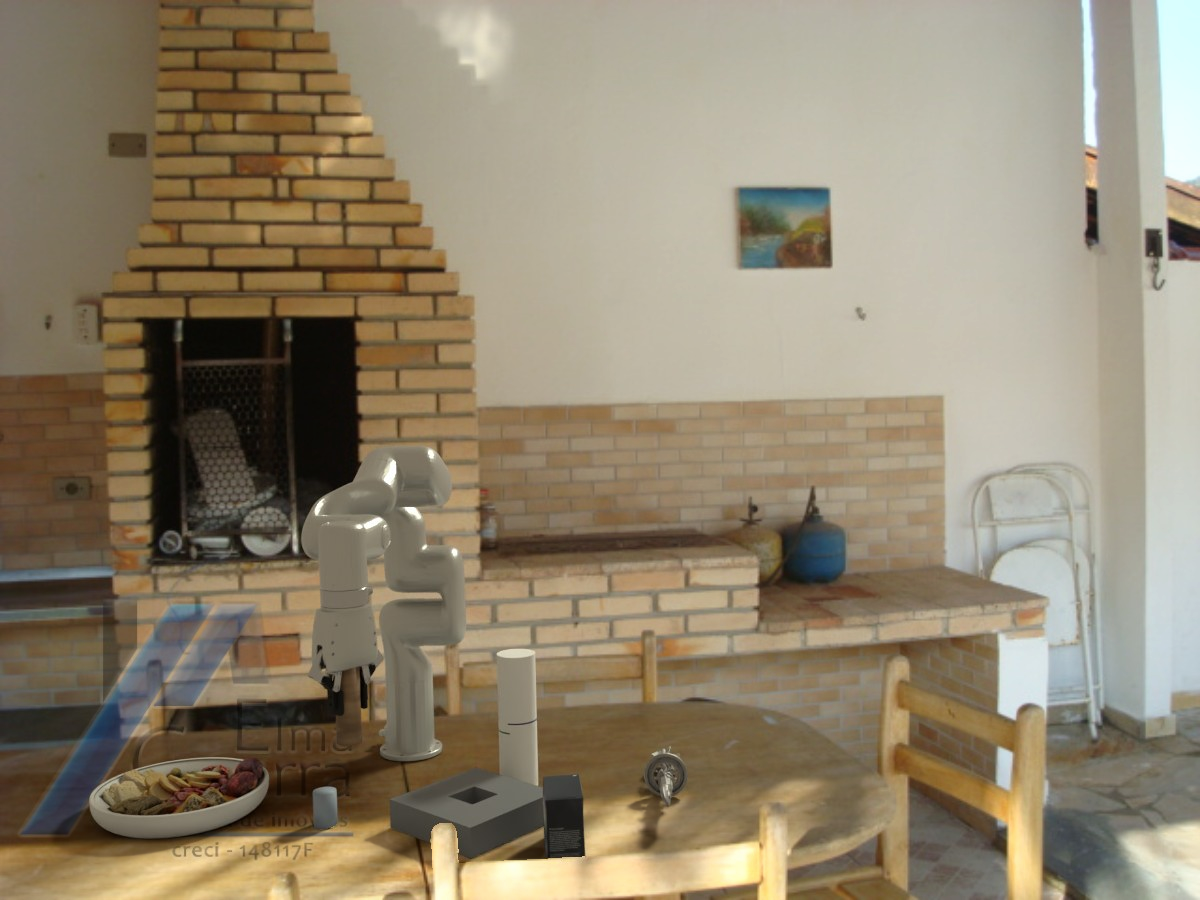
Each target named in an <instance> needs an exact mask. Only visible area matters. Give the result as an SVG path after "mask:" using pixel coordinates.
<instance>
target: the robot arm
mask: <svg viewBox="0 0 1200 900" xmlns="http://www.w3.org/2000/svg"><path fill="white" fill-rule="evenodd" d="M452 483H453V481H452V476H451V473H450V470H449V468H448V466H447V465H446V463H445V462H444V460H443V459H442V457H441V456H440V454H439V453H438V452H437V451H436V450H434V449H433V448H432V447H429V446H427V445H393V446H392V445H391V446H390V445H388V446H380V447H376V448H374V449H371V450H370V451H369V452H368V453H367V454H366V455H365V457H364V458H363V460H362V463H361V464H360V466H359V468H358V471H357V472H356V475H355V477H354V478H353V480H352V482H349V483H347V484H345V485H342V486H341V487H338V488H336V489H335V490H332V491H330V492H328V493H327V494H324V495H323V496H322V497H320V498H319V499H318V500H316V501H315V503H314V504H313V505H312V507H311V508H310V511H309V512H308V514H307V516H306V517H305V521H304V523H303V526H302V530H301V536H300V537H301V538H300V540H301V546H302V549H303V551H304V553H305V554H306V556H307V557H309V558H310V559H313V560H315V561H316V560H317V561H318V569H319V570H318V573H319V599H320V608H317V609H316V610H315V614H314V619H313V626H312V634H311V635H312V636H311V667H310V669H309V672H308V675H307V676H308V678H309V679H312V680H313V681H316V682H318V683H319V684H320V685H321V686H323V689H325V690H326V692H327V693H326V694H327V695H326V696H327V708H328V712H329V714H331V715H335V716H336V715H338V716H342V715H343V714H344V700H343V691H341V690H340V683H341V675H342V671H346V670H348V669H351V668H354V667H360V694H361V710H362V709H363V710H365V709H368V708H369V706H368V705H369V704H368V703H369V702H368V700H369V696H368V695H369V691H368V684H370V683H371V681H372V676H373V675H374V673H375V671H376V670H377V668H378V667H379V666H380V665H381V664H382V663H383V661H384V672H385V673H384V675H385V679H384V680H385V704H386V708H385V709H386V710H385V711H386V724H385V725H384V726H383V728H380V729H379V732H378V735H379V736H380V737H383V738H384V743H383V744H382V745H381V746H380V747H379V754H380V756H381V757H382V758H384V759H387V761H388V760H390V761H395V762H416V761H422V760H426V759H430V758H433V757H436V756H437V755H439V754H440V753H442V751H443V743H442V742H441V741H440V740H438V739H436V738H435V711H434V705H435V703H434V680H433V678H434V676H433V675H434V673H433V666H432V661H431V659H430V658H429V656H428V655H427V653H426V652H425V651H424V650H423V649H422V647H428V646H429V647H430V646H431V647H433V646H435V647H436V646H443V647H444V646H454V645H455V646H456V645H459V644H460V643H461V642H462V641H463V640H464V639H465V636H466V632H467V604H466V579H465V576H466V575H465V565H464V560H463V556H462V553H461V552H460V550H459V549H458V548H456V547H455V546H451V545H446V544H445V545H441V544H440V545H437V544H436V545H428V544H427V537H426V534H427V533H426V522H425V519H424V516H423V515H422V514H421V512H420V510H419V509H418V508H439V507H442V506H444V505H446V504H447V503H448V501H449V500H450V498H451V496H452V491H453V484H452ZM382 556H383V563H384V564H383V565H384V566H383V567H384V578H385V583H386V585H387V588H388V589H389V590H390V591H392V592H396V593H403V594H421V593H423V594H424V593H425V594H426V593H430V594H432V593H436V594H439V595H440V596H441V597H440V598H439V597H438V598H436V597H435V598H424V597H423V598H422V597H420V598H419V597H418V598H416V597H415V598H398V599H393V600H389V601H388V602H386V603H385V604H384V605H383V606H382V607H381V609H380V611H379V615H378V625H379V626H378V627H379V631H380V632H379V633H380V637H381V642H382V649H383V654H382V653H381V651H380V650H379V649H378V647H379V646H378V634H377V628H376V627H377V625H376V621H375V620H376V619H375V615H374V614H375V613H374V611H373V606H372V604H371V603H369V595H372V594H373V592H374V589H373V587H372V586H369V581H368V580H369V577H368V561H371V560H376V559H378V558H380V557H382ZM323 670H325V671H324V674H323V673H322V671H323Z"/></svg>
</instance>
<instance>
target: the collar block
mask: <svg viewBox="0 0 1200 900" xmlns="http://www.w3.org/2000/svg"><path fill="white" fill-rule="evenodd" d="M389 819H390V829H392V830H394V831H397V832H399V833H403V834H406V835H408V836H410V837H414V838H415V839H419V840H421V841H423V842H426V843H428V844H431V843H430V839H431V831H432V829H433V827H434V826H435V825H437V824H439V823H452V824H453V825H454V826H455V828H456V831H457V838H458V849H459V854H458V855H460V856H463V857H466V858H469V859H473V858H475V857H478V856H480V855H483V854H484V853H486V852H489V851H491V850H493V849H496V848H498V847H500V846H502V845H504V844H506V843H509V842H512V841H513V840H515V839H518V838H520V837H522V836H525V835H527V834H528V833H531V832H533V831H536V830H537V829H540V828H542V827H544V824H543V786H539V785H538V786H537V785H533V784H530V783H527V782H523V781H520V780H517V779H513V778H510V777H507V776H503V775H500V773H496V772H495V771H494V772H493V771H491V770H490V771H489V770H486V769H484V768H479V767H473V768H470V769H467V770H465V771H462V772H459V773H457V774H455V775H451V776H449V777H446V778H444V779H441V780H438V781H435V782H433V783H429V784H428V785H424V786H422V787H419V788H417V789H414V790H411V791H408V792H405V793H403V794H400V795H398V796H395V797H392V798H390V799H389Z"/></svg>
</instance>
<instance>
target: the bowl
mask: <svg viewBox="0 0 1200 900" xmlns="http://www.w3.org/2000/svg"><path fill="white" fill-rule="evenodd" d="M269 785H270V776H269V772H268V770H267V769H266V768H265V767H264V766H263V762H262V761H261V760H259V759H258V758H257V757H248V758H244V759H243V758H234V757H223V756H222V757H220V756H218V757H217V756H216V757H213V756H212V757H210V756H209V757H208V756H207V757H193V758H191V757H190V758H184V759H176V760H169V761H168V760H167V761H164V762H157V763H153V764H149V765H145V766H143V767H142V766H141V767H138V768H135V769H131V770H129V771H126V772H123V773H120V774H118V775H116V776H114V777H111V778H109V779H108V780H105V781H104V782H103V783H101V784H99V785H98V786H97V787H95V789H93V791H92V792H91V794H90V795H89V800H88V804H89V812H90V814H91V816H92V818H93V820H94V821H95V822H96V823H97V824H98V825H99V826H100V827H102V829H104V830H106V831H108V832H109V833H110V832H111V833H112V834H115V835H118V836H122V837H127V838H134V839H135V838H136V839H168V838H178V837H184V836H191V835H197V834H200V833H205V832H209V831H212V830H213V831H214V830H215V829H219V828H221V827H224V826H227V825H229V824H232V823H234V822H236V821H238V820H240V819H242V818H245V816H247V815H249V814H250V813H251V812H253V811H254V810H255V809H256V808H257V807H258V806H260V804H261V803H262V801H263V800H264V799H265V797H266V795H267V792H268V789H269Z"/></svg>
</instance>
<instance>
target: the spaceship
mask: <svg viewBox="0 0 1200 900" xmlns="http://www.w3.org/2000/svg"><path fill="white" fill-rule="evenodd" d="M670 750H671V745H669V746H667V747H666V749H665V748H662V749H657V751H655V752H653V753H651V756H652V757H651V758H650V759H649V760H648V761H647V762H646V764H645V767H644V769H643V779H644V782H645V785H646V787H647V788H648V790H649V791H650V792H651V793H652V794H654V795H656V796H658V797H660V796H661V797H660V799H661V801H662V802H663V803H664V804H665V805H666V806H667V807H670V806H671V800H672V797H675V796H676V795H678V794H680V793H681V792H682V791H683V790H684V789H685V788H686V785H687V783H688V778H689V774H688V768H687V765H686V764H685V762H684V761H683V760H682V759H681V758H680V757H681V753H679V752H678V753H670ZM659 766H660V769H657V768H659ZM655 773H657V774H656V776H655ZM675 774H677V777H676V776H674V775H675ZM657 781H658V782H657ZM674 781H675V782H674ZM671 796H672V797H671Z"/></svg>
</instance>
